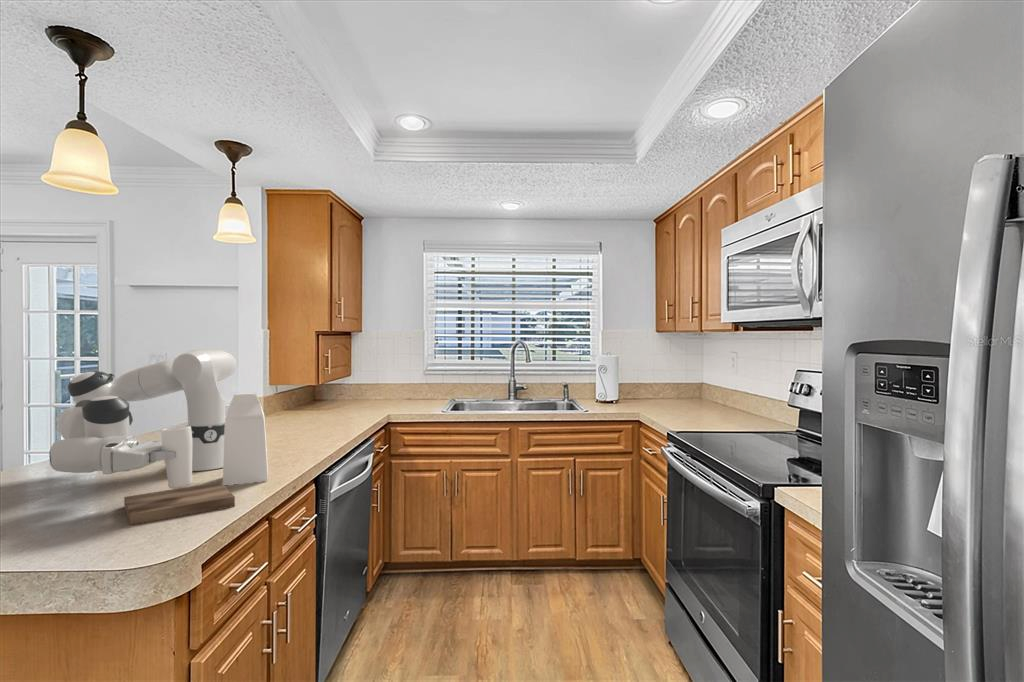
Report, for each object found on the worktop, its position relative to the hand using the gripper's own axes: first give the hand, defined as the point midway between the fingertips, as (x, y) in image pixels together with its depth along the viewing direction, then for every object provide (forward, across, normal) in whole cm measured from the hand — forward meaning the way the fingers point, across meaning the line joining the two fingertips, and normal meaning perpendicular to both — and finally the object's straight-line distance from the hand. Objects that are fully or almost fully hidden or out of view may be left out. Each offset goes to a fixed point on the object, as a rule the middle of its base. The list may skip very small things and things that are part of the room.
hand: (181, 451), depth 141 cm
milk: (+7, -26, -14) cm, 30 cm away
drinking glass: (0, 0, -9) cm, 9 cm away
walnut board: (-1, 0, -14) cm, 14 cm away
